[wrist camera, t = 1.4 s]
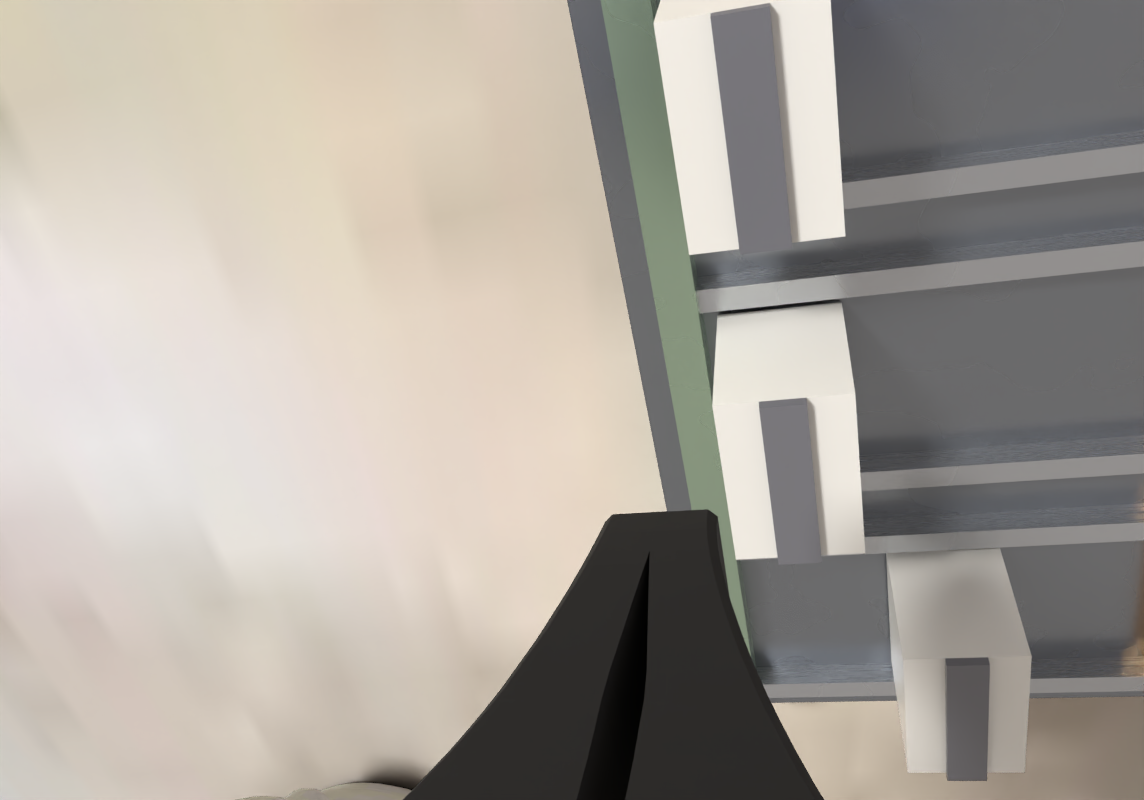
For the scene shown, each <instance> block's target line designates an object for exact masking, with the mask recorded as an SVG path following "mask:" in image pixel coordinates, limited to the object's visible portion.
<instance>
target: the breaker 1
mask: <svg viewBox="0 0 1144 800" xmlns="http://www.w3.org/2000/svg"><path fill="white" fill-rule="evenodd" d="M654 30H655V36H656V43H657V49H658V56H659V62H660V69H661V75H662V82H663V88H664V95H665V101H666V108H667V114H668V121H669V127H670V134H671V140H672V147H673V153H674V160H675V166H676V173H677V179H678V186H679V192H680V199H681V205H682V212H683V218H684V225H685V231H686V238H687V244H688V251H689V255H694V254H702V253H711V252H719V251H727V250H736V249H739V251H740V255H741V254H750V253H758V252H766V251H775V250H783V249H792V243H794V242H803V241H811V240H819V239H828V238H836V237H845V222H844V206H843V190H842V174H841V158H840V142H839V126H838V110H837V95H836V79H835V63H834V47H833V31H832V15H831V0H660V4H659V7H658V10H657V13H656V16H655V20H654Z"/></svg>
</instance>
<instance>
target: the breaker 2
mask: <svg viewBox="0 0 1144 800" xmlns="http://www.w3.org/2000/svg"><path fill="white" fill-rule="evenodd" d="M712 407H713V413H714V420H715V426H716V433H717V439H718V446H719V452H720V459H721V465H722V472H723V478H724V485H725V491H726V498H727V504H728V511H729V517H730V524H731V530H732V537H733V543H734V550H735V556H736V560H738V559H758V558H778V565H784V564H805V563H822V557H821V555H839V554H859V553H865V540H864V524H863V508H862V492H861V476H860V460H859V444H858V429H857V413H856V397H855V388H854V381H853V375H852V368H851V361H850V355H849V348H848V341H847V334H846V328H845V321H844V314H843V308H842V302H837V303H828V304H818V305H809V306H799V307H790V308H780V309H771V310H761V311H752V312H742V313H733V314H723V315H717V332H716V350H715V367H714V385H713V402H712Z"/></svg>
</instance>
